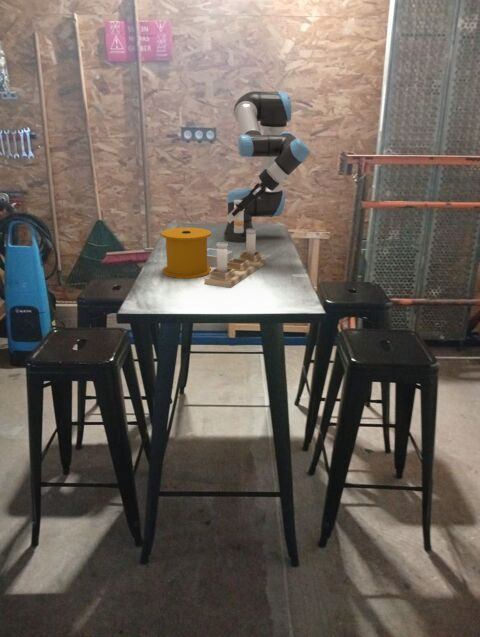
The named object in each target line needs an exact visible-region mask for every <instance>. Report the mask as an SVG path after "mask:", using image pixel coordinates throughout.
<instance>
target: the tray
mask: <svg viewBox="0 0 480 637" xmlns="http://www.w3.org/2000/svg"><path fill="white" fill-rule="evenodd" d="M232 258H234V251H233V250H228V249H227V261H229V260H231V259H232ZM207 266H209V267H213V268H214V267H215V268H217V248H210V247H209V248H208V247H207Z"/></svg>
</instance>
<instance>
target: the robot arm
mask: <svg viewBox="0 0 480 637" xmlns="http://www.w3.org/2000/svg"><path fill="white" fill-rule="evenodd" d="M291 102H292V101H291V98H290V95H289V94H288V92H284V91H256V90H255V91H248V92H246V93H245V94H243V95H242V96H240V98H238V99H237V101H236V102H235V105H234V107H233V115H234V118H235V121H236V122H237V123H238V126H239V131H240V134H241V135H239V136H238V138H237V139H238V143H237V146H238V147H237V148H238V150H237V152H238V154H239V156H240V157H247V158H252V157H256V158H258V157H259V158H260V157H261V170H260V172H261V173H259V175H258V178H259V180H260V182H258V183H256V184H255V186H254V187H253V188H251V187H248V188H247V187H243V188H237V189H233V190H230V191H229V192H228V194H227V201H226V202H227V215H226V216H225V217H224V219H225V220H226V226H225V230H224V233H223V239H224V240H225V241H227V242H233V243H246V229H248V228H253V229H254V226H253V218H266V217H267V218H268V217H269V218H274V217H281V215H282V214H283V212H284V210H285V204H286V193H285V191H283V187H282V186H281V185H280V183H282V182H283V181H284V180H286V181H287V180H288V177H289V175H291V173H292V172H294V171H295V170H296V169H297V168H298V167H299V166H300V165H301V164H303V162H305V161H306V159H308V157H309V156H310V155H311V150H310V148H309V146H308V145H307V144H306V143H305V142H304V140H302V139H301V138H299V137H296V136H295V135H294V134H293V133H292V132H291V131H290V132H289V131H284V130H285V129H287V125H288V123H289V122H291V120H292V115H293V114H292V111H293V110H292V103H291ZM261 128H262V131H263V132H262V131H261ZM234 200H243V201H242V202H241V203H240V204H238V205H237V204H236V206H237V207H236V208H234ZM243 209H244V227H243V228H244V232H243V233H234V219H235V218H236V217H237V216H238V215H239V214H240V213H241V212H242V211H243Z"/></svg>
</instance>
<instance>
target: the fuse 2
mask: <svg viewBox="0 0 480 637" xmlns="http://www.w3.org/2000/svg"><path fill="white" fill-rule="evenodd" d="M256 238H257V229H256V228H254V227H253V228H248V229H246V242H245V243H246V244H245V246H246V247H245V251H246V255H252V256H255V252H256V243H257V242H256V241H257V240H256Z"/></svg>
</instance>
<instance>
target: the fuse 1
mask: <svg viewBox="0 0 480 637" xmlns="http://www.w3.org/2000/svg"><path fill="white" fill-rule="evenodd" d="M228 245H229V243H228V242H225V241H221V242H220V241H219V242H216V249H217V267H216V268H217V272H219V273H227V250H228V248H229V247H228Z"/></svg>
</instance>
